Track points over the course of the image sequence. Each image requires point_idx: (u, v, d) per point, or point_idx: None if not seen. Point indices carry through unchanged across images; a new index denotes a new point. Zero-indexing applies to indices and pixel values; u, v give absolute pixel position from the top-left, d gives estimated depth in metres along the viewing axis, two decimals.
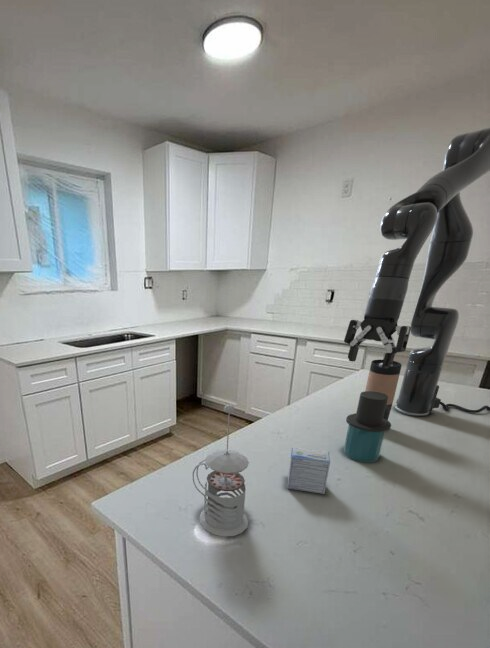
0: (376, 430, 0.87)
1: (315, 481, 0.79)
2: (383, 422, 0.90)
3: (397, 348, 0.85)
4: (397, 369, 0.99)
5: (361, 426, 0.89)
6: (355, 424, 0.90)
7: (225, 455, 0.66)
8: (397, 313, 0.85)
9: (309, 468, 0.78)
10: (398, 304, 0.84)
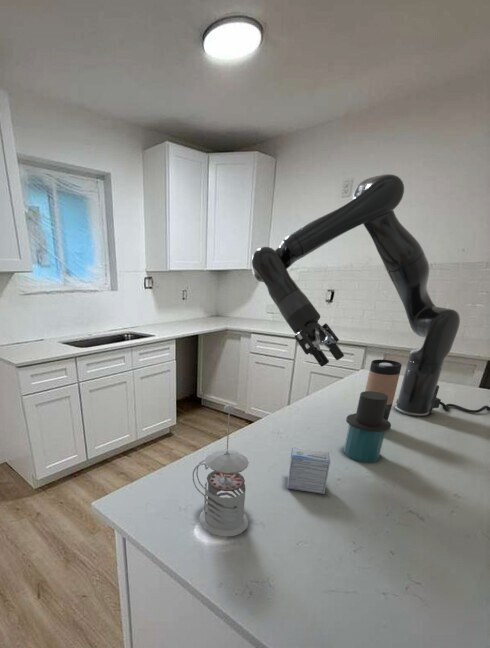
0: (376, 430, 0.87)
1: (315, 481, 0.79)
2: (383, 422, 0.90)
3: None
4: (397, 369, 0.99)
5: (361, 426, 0.89)
6: (355, 424, 0.90)
7: (225, 455, 0.66)
8: (296, 324, 0.94)
9: (310, 468, 0.78)
10: (291, 319, 0.95)
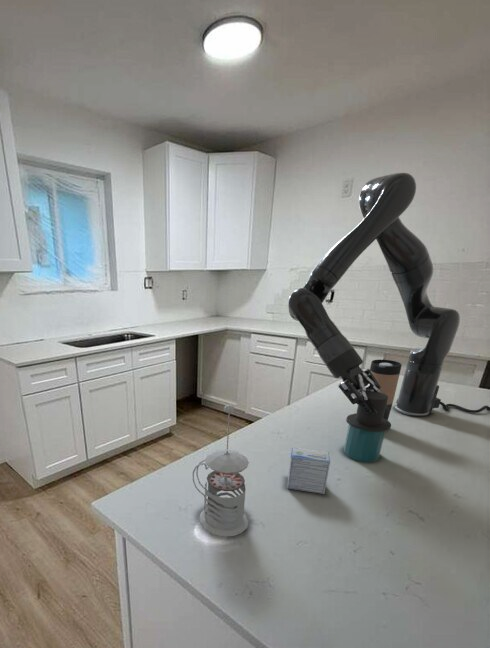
0: (376, 430, 0.87)
1: (315, 481, 0.79)
2: (383, 422, 0.90)
3: None
4: (397, 369, 0.99)
5: (361, 426, 0.89)
6: (355, 424, 0.90)
7: (225, 455, 0.66)
8: (338, 370, 0.90)
9: (310, 468, 0.78)
10: (331, 364, 0.90)
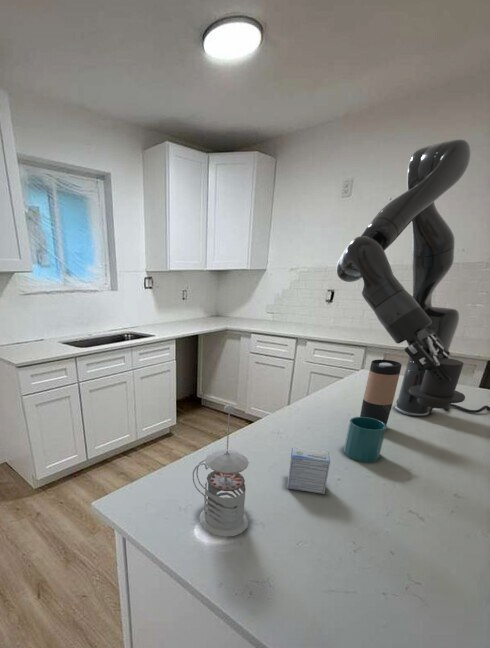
0: (449, 401, 0.74)
1: (315, 481, 0.79)
2: (454, 393, 0.78)
3: None
4: (397, 369, 0.99)
5: (430, 397, 0.76)
6: (422, 395, 0.77)
7: (225, 455, 0.66)
8: (402, 332, 0.77)
9: (310, 468, 0.78)
10: (394, 326, 0.78)
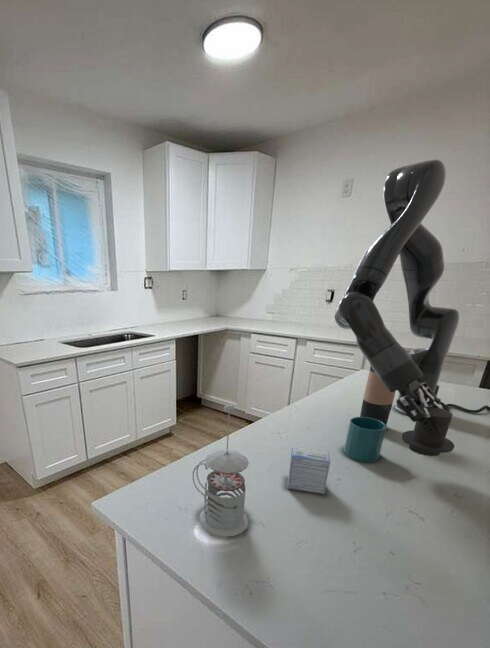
0: (439, 451, 0.78)
1: (315, 481, 0.79)
2: (444, 441, 0.82)
3: None
4: None
5: (421, 446, 0.80)
6: (414, 443, 0.81)
7: (225, 455, 0.66)
8: (395, 383, 0.81)
9: (310, 468, 0.78)
10: (387, 377, 0.82)
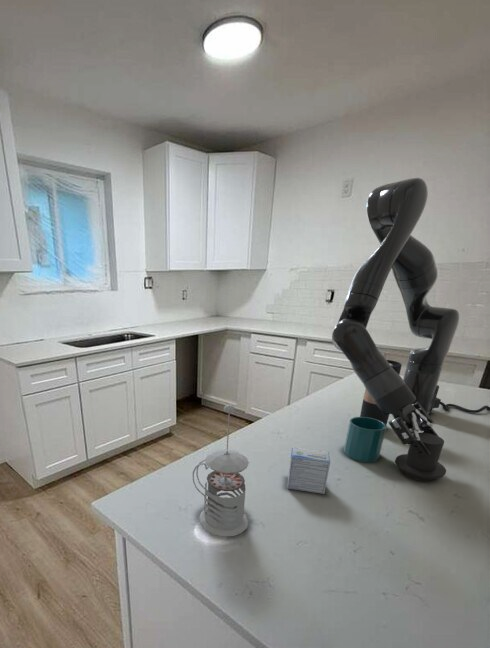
0: (431, 476, 0.81)
1: (315, 481, 0.79)
2: (436, 466, 0.84)
3: None
4: (397, 369, 0.99)
5: (414, 471, 0.82)
6: (407, 468, 0.84)
7: (225, 455, 0.66)
8: (389, 407, 0.83)
9: (310, 468, 0.78)
10: (381, 401, 0.84)
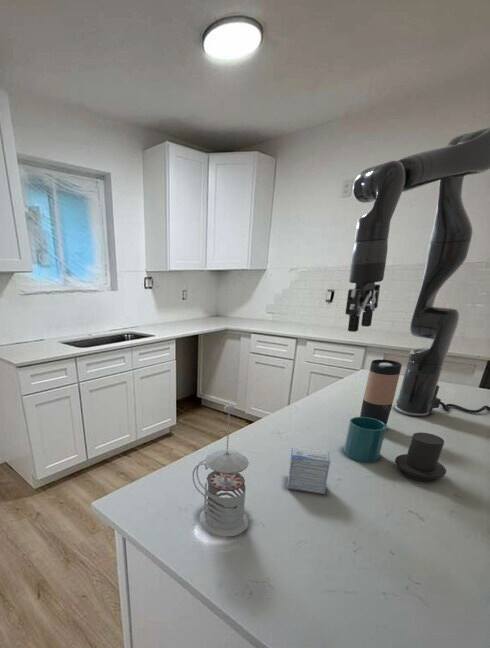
0: (431, 476, 0.81)
1: (315, 481, 0.79)
2: (436, 466, 0.84)
3: None
4: (397, 369, 0.99)
5: (414, 471, 0.82)
6: (407, 468, 0.84)
7: (225, 455, 0.66)
8: (358, 276, 0.88)
9: (310, 468, 0.78)
10: (357, 268, 0.87)
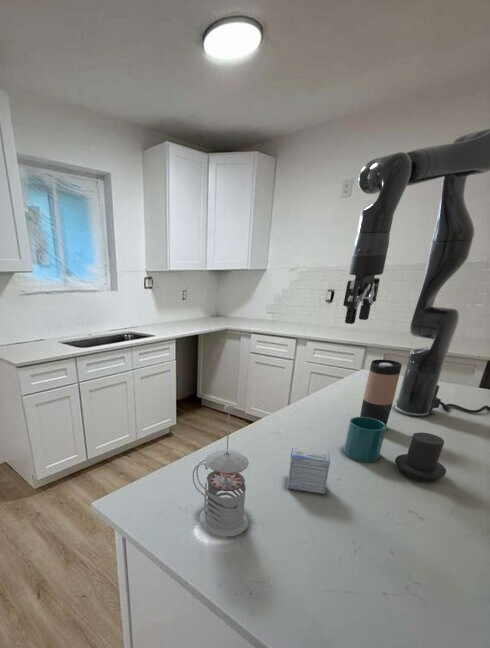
0: (431, 476, 0.81)
1: (315, 481, 0.79)
2: (436, 466, 0.84)
3: None
4: (397, 369, 0.99)
5: (414, 471, 0.82)
6: (407, 468, 0.84)
7: (225, 455, 0.66)
8: (358, 268, 0.88)
9: (310, 468, 0.78)
10: (357, 259, 0.87)
